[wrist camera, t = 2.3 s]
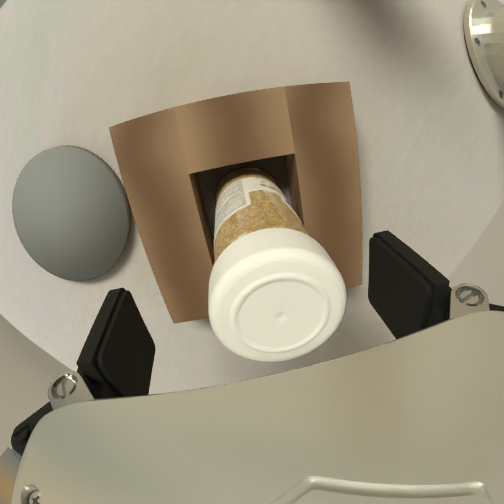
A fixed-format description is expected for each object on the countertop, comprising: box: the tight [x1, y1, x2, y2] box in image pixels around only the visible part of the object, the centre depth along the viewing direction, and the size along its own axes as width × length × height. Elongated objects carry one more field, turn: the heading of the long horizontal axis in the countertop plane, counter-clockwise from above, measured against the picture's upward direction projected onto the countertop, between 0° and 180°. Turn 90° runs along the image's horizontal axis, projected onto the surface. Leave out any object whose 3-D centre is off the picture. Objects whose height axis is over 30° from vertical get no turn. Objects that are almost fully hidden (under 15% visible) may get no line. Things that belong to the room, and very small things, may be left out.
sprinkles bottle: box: [208, 167, 347, 362], centre depth 15 cm, size 5×5×13 cm
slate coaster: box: [12, 146, 130, 281], centre depth 20 cm, size 11×11×1 cm
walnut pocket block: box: [109, 82, 362, 323], centre depth 20 cm, size 14×14×4 cm
